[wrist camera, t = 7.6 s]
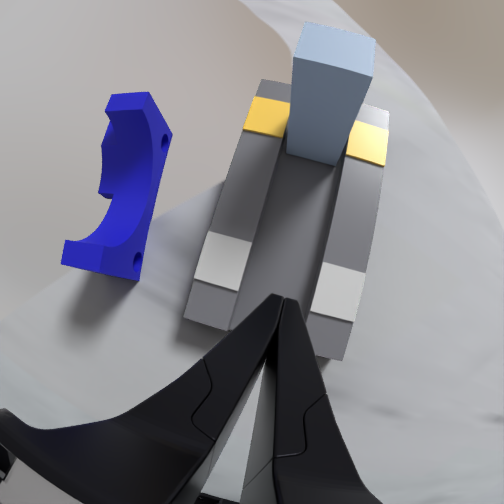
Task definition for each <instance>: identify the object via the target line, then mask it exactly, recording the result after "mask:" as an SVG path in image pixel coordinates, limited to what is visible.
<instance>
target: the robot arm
mask: <svg viewBox="0 0 504 504" xmlns="http://www.w3.org/2000/svg"><path fill="white" fill-rule="evenodd" d="M265 360H266V361H265ZM264 362H265V365H264ZM263 365H264V370H263V376H262V382H261V388H260V394H259V400H258V406H257V412H256V418H255V423H254V429H253V435H252V440H251V446H250V451H249V457H248V462H247V468H246V473H245V478H244V483H243V490H242V494H241V499H240V503H238V502H234V501H230V500H226V499H222V498H219V497H215V496H212V495H208V494H205V493H200V492H201V490H202V488H203V486H204V484H205V482H206V481H207V479H208V477H209V475H210V473H211V471H212V469H213V467H214V466H215V464H216V462H217V460H218V458H219V456H220V454H221V452H222V450H223V448H224V446H225V444H226V442H227V440H228V438H229V436H230V434H231V432H232V430H233V428H234V426H235V424H236V422H237V420H238V418H239V416H240V414H241V412H242V410H243V408H244V406H245V404H246V402H247V400H248V398H249V396H250V393H251V391H252V389H253V387H254V385H255V383H256V381H257V379H258V376H259V374H260V372H261V370H262V367H263ZM200 497H201V498H204V499H200ZM0 504H383V503H382V502H380V501H379V500H378V499H377V498H376V497H375V496H374V495H373V494H372V493H371V492H370V491H369V490H368V489H367V488H366V486H365V485H364V484H363V482H362V480H361V478H360V477H359V474H358V472H357V470H356V468H355V465H354V463H353V461H352V458H351V456H350V454H349V452H348V449H347V447H346V445H345V442H344V440H343V438H342V435H341V433H340V430H339V428H338V425H337V423H336V420H335V417H334V414H333V411H332V408H331V405H330V402H329V398H328V395H327V394H326V388H325V385H324V382H323V378H322V375H321V372H320V368H319V365H318V362H317V358H316V355H315V352H314V348H313V345H312V342H311V339H310V336H309V332H308V329H307V326H306V323H305V320H304V316H303V313H302V310H301V307H300V304H299V301H298V300H295V299H291V298H288V297H286V298H285V299H284V297H283V296H281V295H277V294H274V293H271V294H270V295H269V296H268V297H266V298H265V299H264V300H263V301H262V302H261V303H260V304H259V305H258V306H257V307H256V308H255V309H254V310H253V311H252V312H251V313H250V314H249V315H248V316H247V317H246V318H244V319H243V320H242V321H241V322H240V323H239V324H238V325H237V326H236V327H235V328H234V329H233V330H232V331H231V332H230V333H228V334H227V335H226V336H225V337H224V338H223V339H222V340H221V341H220V342H219V343H218V344H217V345H216V346H214V347H213V348H212V349H211V350H210V351H209V352H208V353H207V354H206V355H205V356H203V359H200V360H199V361H198V362H197V363H196V364H194V365H193V366H192V367H191V368H190V369H189V370H187V371H186V372H185V373H184V374H183V375H181V376H180V377H179V378H178V379H176V380H175V381H173V382H172V383H170V384H169V385H168V386H166V387H165V388H163V389H162V390H160V391H159V392H157V393H156V394H154V395H152V396H151V397H149V398H148V399H146V400H145V401H143V402H141V403H140V404H138V405H137V406H135V407H134V408H132V409H130V410H129V411H127V412H125V413H123V414H121V415H119V416H117V417H114V418H111V419H107V420H103V421H98V422H93V423H87V424H82V425H76V426H70V427H63V428H56V429H37V428H34V427H31V426H29V425H27V424H25V423H24V422H23V421H21V420H20V419H19V418H18V417H16V416H15V415H14V414H13V413H11V412H10V411H9V410H7V409H5V408H2V409H0Z"/></svg>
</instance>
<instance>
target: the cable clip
mask: <svg viewBox="0 0 504 504" xmlns="http://www.w3.org/2000/svg"><path fill="white" fill-rule="evenodd" d="M105 113H106V114H107V115H108V117H109V119H110V122H109V125H108V128H107V131H106V133H105V136H104V139H103V142H102V145H101V148H102V174H101V181H100V186H99V191H98V193H99V194H101V195H102V196H103V197H105V198H106V199H112V201H111V204H110V207H109V209H108V211H107V214H106V215H105V217H104V219H103V221H102V222H101V224H100V225H99V227H98V228H97V229H96V230H95V231H94V232H93V233H92V234H91V235H90V236H88V237H87V238H85V239H83V240H79V241H70V240H65V244H64V249H63V254H62V260H61V264H62V265H66V266H71V267H75V268H79V269H83V270H87V271H92V272H96V273H100V274H105V275H110V276H115V277H120V278H125V279H131V280H136V281H139V279H140V273H141V267H142V261H143V256H144V250H145V245H146V240H147V235H148V230H149V225H150V221H152V216H153V211H154V207H155V202H156V198H157V194H158V189H159V185H160V181H161V177H162V173H163V169H164V165H165V161H166V158H167V154H168V150H169V147H170V143H171V139H172V136H173V134H172V132H171V131H170V129H169V127H168V125H167V123H166V122H165V120H164V118H163V116H162V114H161V113H160V111H159V109H158V107H157V105H156V104H155V102H154V100H153V98H152V96H151V95H150V93H149V92H135V93H122V94H112V95H111V97H110V100H109V102H108V105H107V107H106V109H105Z"/></svg>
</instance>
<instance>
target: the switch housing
mask: <svg viewBox="0 0 504 504" xmlns="http://www.w3.org/2000/svg"><path fill="white" fill-rule="evenodd" d="M290 99H291V85H290V84H285V83H280V82H275V81H270V80H264V79H262V80H261V82H260V85H259V88H258V90H257V93H256V95H255V96H254V99H253V102H252V104H251V107H250V110H249V112H248V115H247V118H246V120H245V123H244V126H243V132H242V134H241V137H240V139H239V142H238V145H237V148H236V151H235V154H234V157H233V160H232V162H231V165H230V168H229V171H228V174H227V177H226V180H225V183H224V186H223V189H222V192H221V195H220V198H219V201H218V204H217V207H216V210H215V213H214V216H213V220H212V223H211V226H210V229H209V231H208V233H207V236H206V239H205V242H204V245H203V249H202V252H201V255H200V258H199V262H198V265H197V268H196V272H195V275H194V281H193V285H192V288H191V292H190V295H189V299H188V302H187V306H186V309H185V313H184V316H183V317H184V318H187V319H190V320H193V321H196V322H199V323H202V324H206V325H209V326H212V327H215V328H218V329H222V330H225V331H228V330H230V329H231V330H233V329H234V328H235V327H236V326H237V325H238V324H239V323H240V322H241V321H242V320H243V319H244V318H246V317H247V316H248V315H249V314H250V313H251V312H252V311H253V310H254V309H255V308H256V307H257V306H258V305H259V304H260V303H261V302H262V301H263V300H264V299H265V298H266V297H268V296H269V295H270V294H271V293H274V294H277V295H281V296H283V297H284V299H285V298H286V297H288V298H291V299H295V300H298V301H299V304H300V307H301V310H302V313H303V316H304V320H305V323H306V326H307V329H308V332H309V336H310V339H311V342H312V345H313V348H314V352H315V355H317V356H321V357H325V358H330V359H334V360H339V361H342V360H343V357H344V353H345V350H346V347H347V343H348V340H349V336H350V333H351V329H352V325H353V322H354V321H355V317H356V314H357V310H358V306H359V302H360V298H361V294H362V289H363V285H364V281H365V276H366V268H367V263H368V259H369V254H370V249H371V244H372V239H373V233H374V228H375V222H376V217H377V211H378V205H379V198H380V192H381V185H382V178H383V170H384V166H385V160H386V151H387V142H388V123H389V112H388V111H385V110H382V109H379V108H376V107H373V106H370V105H367V104H364V103H362V105H361V108H360V110H359V113H358V115H357V117H356V120H355V122H354V125H353V127H352V129H351V132H350V134H349V136H348V139H347V141H346V144H345V146H344V148H343V150H342V153H341V155H340V157H339V160H338V162H337V164H336V166H333V165H329V164H326V163H322V162H318V161H314V160H311V159H307V158H303V157H299V156H295V155H291V154H287V153H286V149H287V137H288V124H289V112H290Z"/></svg>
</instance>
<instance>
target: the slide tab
mask: <svg viewBox="0 0 504 504" xmlns="http://www.w3.org/2000/svg"><path fill="white" fill-rule="evenodd" d="M375 43H376V39H373V38H370V37H367V36H363V35H360V34H356V33H353V32H349V31H345V30H341V29H337V28H333V27H329V26H325V25H320V24H315V23H310V22H305V24H304V27H303V30H302V33H301V36H300V39H299V42H298V45H297V48H296V51H295V54H294V57H293V71H292V85H291V99H290V112H289V124H288V137H287V149H286V153H287V154H291V155H295V156H299V157H303V158H307V159H311V160H314V161H318V162H322V163H326V164H329V165H333V166H336V164H337V162H338V160H339V157H340V155H341V153H342V150H343V148H344V146H345V144H346V141H347V139H348V136H349V134H350V132H351V129H352V127H353V125H354V122H355V120H356V117H357V115H358V113H359V110H360V108H361V105H362V103H363V100H364V98H365V96H366V93H367V91H368V88H369V86H370V83H371V81H372V78H373V70H374V57H375Z"/></svg>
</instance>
